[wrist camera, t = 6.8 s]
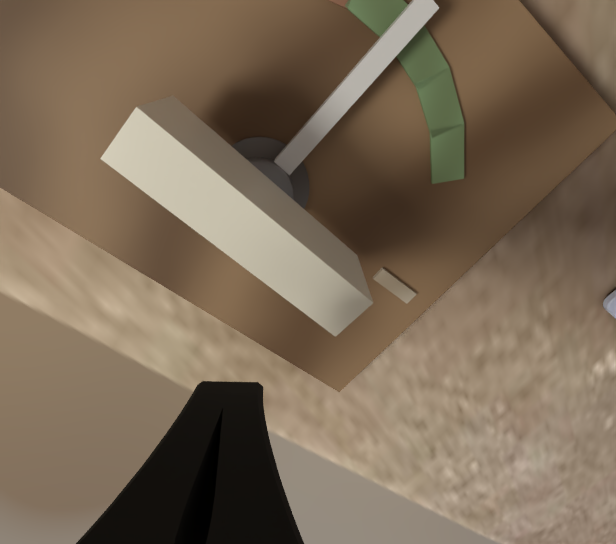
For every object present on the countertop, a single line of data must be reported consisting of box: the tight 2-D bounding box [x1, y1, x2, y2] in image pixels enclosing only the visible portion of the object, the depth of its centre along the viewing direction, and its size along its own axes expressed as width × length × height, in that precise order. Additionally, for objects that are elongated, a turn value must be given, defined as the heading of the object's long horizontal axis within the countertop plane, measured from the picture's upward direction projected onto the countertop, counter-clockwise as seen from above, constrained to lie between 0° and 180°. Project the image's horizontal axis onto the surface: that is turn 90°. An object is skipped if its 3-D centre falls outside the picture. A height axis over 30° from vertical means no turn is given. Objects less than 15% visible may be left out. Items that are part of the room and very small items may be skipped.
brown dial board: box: [0, 0, 616, 392], centre depth 15 cm, size 20×16×2 cm
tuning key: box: [100, 0, 439, 337], centre depth 12 cm, size 9×8×5 cm
